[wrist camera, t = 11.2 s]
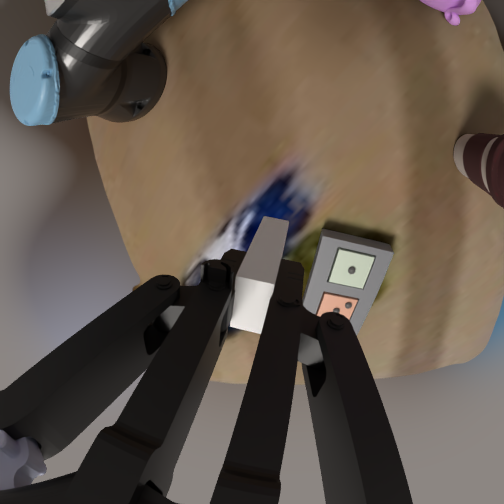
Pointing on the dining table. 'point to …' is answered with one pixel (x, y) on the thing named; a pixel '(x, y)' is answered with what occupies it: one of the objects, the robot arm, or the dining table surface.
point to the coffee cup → (482, 162)
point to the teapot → (453, 8)
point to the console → (365, 296)
